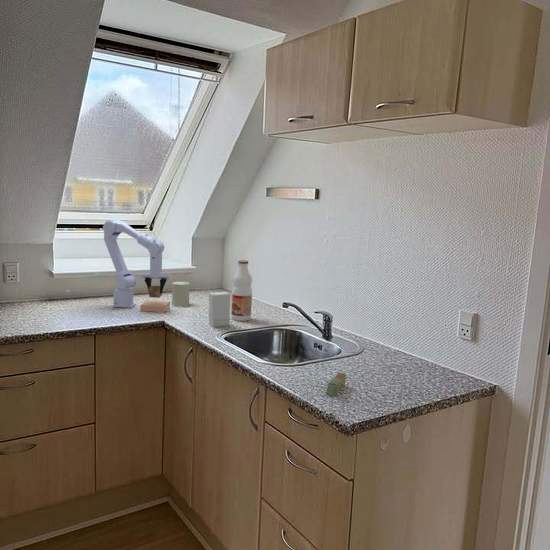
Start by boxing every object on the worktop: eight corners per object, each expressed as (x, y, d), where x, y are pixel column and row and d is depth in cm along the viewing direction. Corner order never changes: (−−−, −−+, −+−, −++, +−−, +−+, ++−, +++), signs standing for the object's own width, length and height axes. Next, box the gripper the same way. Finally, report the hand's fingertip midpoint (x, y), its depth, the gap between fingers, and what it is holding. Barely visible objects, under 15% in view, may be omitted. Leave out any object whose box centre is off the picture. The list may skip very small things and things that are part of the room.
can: (187, 306, 271) (188, 284, 269) (170, 305, 271) (170, 283, 269) (190, 303, 280) (191, 281, 278) (173, 302, 280) (174, 280, 278)
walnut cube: (149, 297, 258) (149, 287, 257) (151, 295, 262) (151, 285, 262) (159, 297, 257) (159, 287, 257) (161, 295, 262) (161, 285, 262)
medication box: (335, 397, 155) (336, 385, 154) (326, 396, 156) (327, 383, 155) (345, 385, 166) (346, 373, 165) (337, 383, 167) (338, 371, 166)
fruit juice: (252, 321, 245) (254, 262, 241) (232, 321, 243) (234, 261, 239) (249, 316, 254) (251, 259, 250) (230, 316, 253) (232, 259, 248)
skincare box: (225, 323, 239) (226, 291, 237) (230, 326, 234) (231, 293, 232) (207, 324, 236) (208, 292, 234) (212, 327, 230) (213, 294, 228)
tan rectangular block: (140, 311, 256) (140, 305, 255) (146, 306, 268) (146, 300, 267) (164, 312, 256) (164, 306, 255) (169, 307, 268) (169, 301, 267)
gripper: (139, 266, 254) (138, 293, 256) (168, 267, 254) (168, 295, 256) (143, 264, 261) (142, 291, 263) (171, 265, 261) (171, 292, 263)
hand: (155, 293), depth 260 cm, fingers closed on walnut cube, 5 cm apart
